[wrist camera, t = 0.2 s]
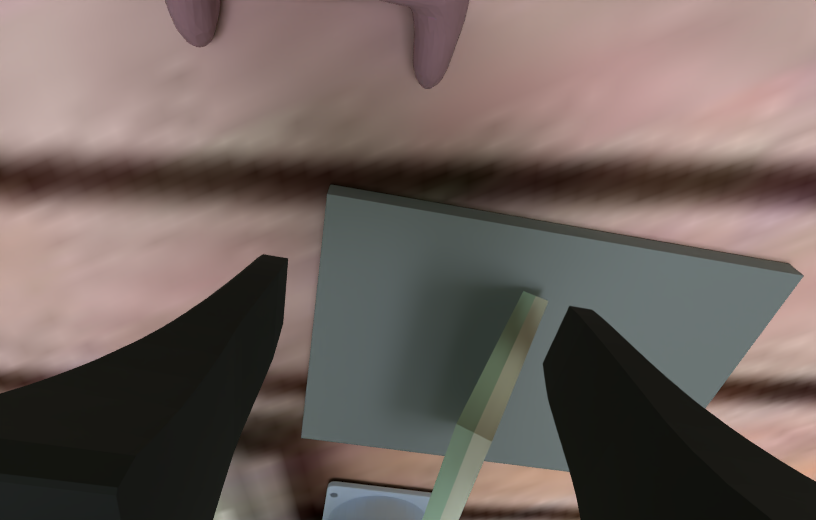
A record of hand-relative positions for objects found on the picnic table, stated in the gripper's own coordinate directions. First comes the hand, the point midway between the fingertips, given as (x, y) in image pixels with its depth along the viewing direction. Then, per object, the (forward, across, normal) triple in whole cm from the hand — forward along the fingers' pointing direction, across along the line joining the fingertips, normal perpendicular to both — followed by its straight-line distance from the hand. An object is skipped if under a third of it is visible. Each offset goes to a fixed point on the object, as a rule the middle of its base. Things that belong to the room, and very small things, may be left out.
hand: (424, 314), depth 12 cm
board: (+10, -7, +9) cm, 16 cm away
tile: (+5, -4, +9) cm, 11 cm away
